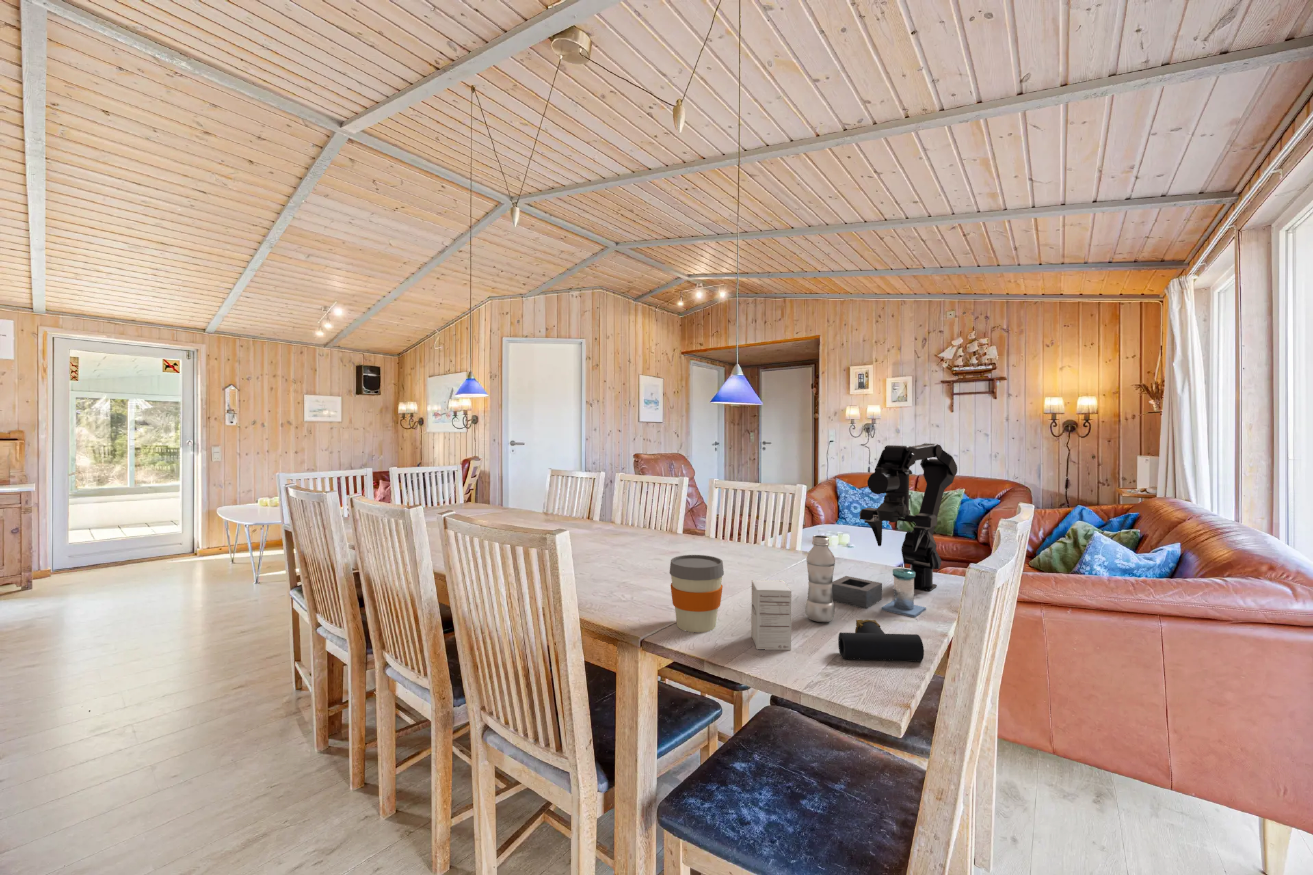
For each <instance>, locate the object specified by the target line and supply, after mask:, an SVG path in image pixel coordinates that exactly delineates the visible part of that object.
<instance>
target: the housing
mask: <svg viewBox="0 0 1313 875" xmlns="http://www.w3.org/2000/svg"><path fill="white" fill-rule="evenodd" d="M832 596H833V602H836V603H841V604H845V605H849V606H853V607H856V608H861V609H865V610H867V609H869V608H871V607H872V606H875V605H876V604H878V603H879V602H881V601H882V600H883V582H879V581H873V580H868V579H863V578H857V577H853V576H849V575H848V576H847V575H845V576H842V577H840V578H838V579H836V580H833V581H832Z"/></svg>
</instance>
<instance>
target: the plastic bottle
mask: <svg viewBox="0 0 1313 875" xmlns="http://www.w3.org/2000/svg"><path fill="white" fill-rule="evenodd" d="M811 544H812V545H813V546H812V547H811V549H810V550H809V552H808V553H807V555H806V566H807V576H808V577H807V578H808V579H807V580H808V582H807V583H808V588H807V598H806V601H805V608H804V609H805V614H806V616H807V618H808V619H809V620H811V621H814V622H818V623H828V622H831V621H832V620H833V619H834V616H835V605H834V604H835V602H834V601H833V596H832V582H833V581H834V580H833V579H834V571H835V565H836V558H835V555H834V553H833V552H832V551H831V549H830V548H829V546H830V538H829V536H826V535H820V534H819V535H816V534H815V535H812V543H811Z"/></svg>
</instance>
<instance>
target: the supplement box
mask: <svg viewBox="0 0 1313 875" xmlns="http://www.w3.org/2000/svg"><path fill="white" fill-rule="evenodd" d="M750 615H751V616H750V618H751V619H750V622H751V624H750V625H751V627H750V629H751V630H750V635H751V638H752V640H753V642H754V646H755V649H756V650H758V649H765V650H766V651H791V650H792V590H791V588H790V586H788V584H787V583H786V582H785V581H784V580H780V579H777V580H776V579H775V580H774V579H771V580H770V579H769V580H768V579H756V580H754V579H753V580H751V614H750ZM765 650H764V651H765Z"/></svg>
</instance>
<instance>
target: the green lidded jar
mask: <svg viewBox="0 0 1313 875" xmlns="http://www.w3.org/2000/svg"><path fill="white" fill-rule="evenodd" d="M892 577H893V600H894V607H895V608H897V609H900V610H913V609H914V605H915V588H914V578H915V571H913V570H911V568H910V569H909V568H899V567H898V568H897V567H896V568H893V569H892Z"/></svg>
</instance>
